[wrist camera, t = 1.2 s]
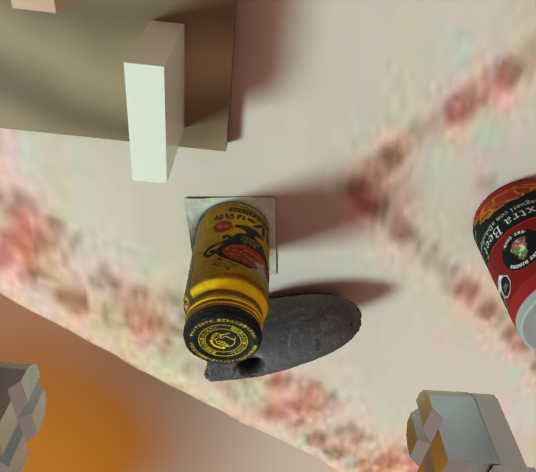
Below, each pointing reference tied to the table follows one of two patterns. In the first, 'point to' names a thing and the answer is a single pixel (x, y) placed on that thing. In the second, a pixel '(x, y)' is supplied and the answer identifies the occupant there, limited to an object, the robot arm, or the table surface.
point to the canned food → (511, 251)
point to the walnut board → (111, 66)
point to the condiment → (228, 276)
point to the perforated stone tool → (295, 335)
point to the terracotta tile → (40, 5)
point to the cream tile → (155, 100)
